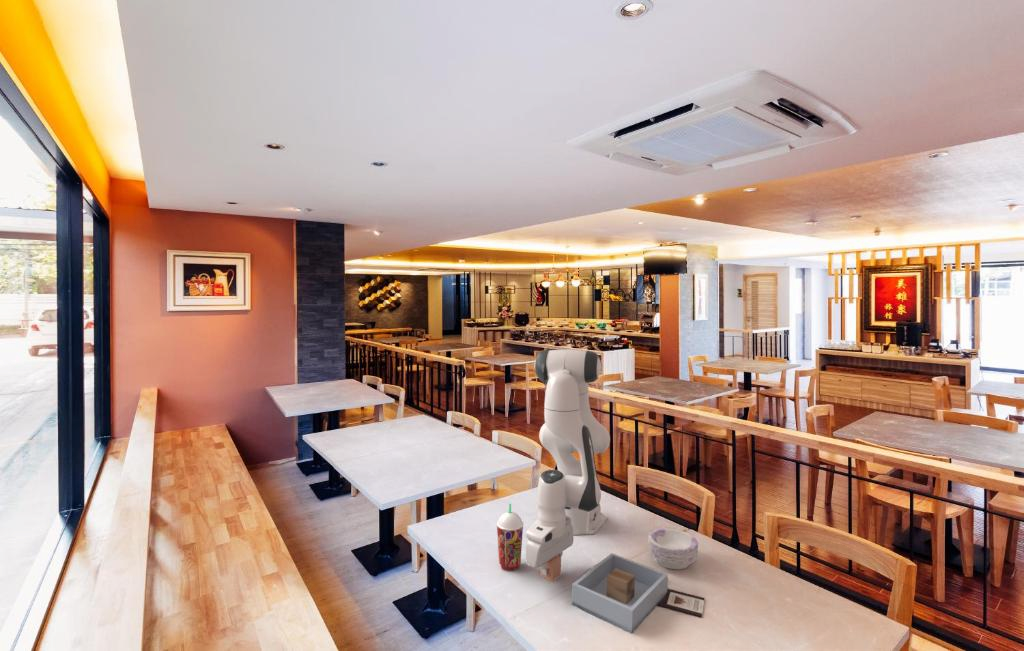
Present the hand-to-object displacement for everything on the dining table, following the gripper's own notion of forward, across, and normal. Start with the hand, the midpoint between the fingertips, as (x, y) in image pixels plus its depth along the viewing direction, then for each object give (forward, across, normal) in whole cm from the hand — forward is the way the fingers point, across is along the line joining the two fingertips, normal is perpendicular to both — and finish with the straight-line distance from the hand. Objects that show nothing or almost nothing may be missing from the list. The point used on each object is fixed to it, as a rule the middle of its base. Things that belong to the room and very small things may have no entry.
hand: (550, 569), depth 153 cm
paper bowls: (+2, -32, +25) cm, 41 cm away
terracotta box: (+2, 0, 0) cm, 2 cm away
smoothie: (+2, +4, -13) cm, 14 cm away
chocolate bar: (+2, -12, +32) cm, 35 cm away
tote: (+2, -3, +22) cm, 22 cm away
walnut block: (+1, -3, +22) cm, 22 cm away
